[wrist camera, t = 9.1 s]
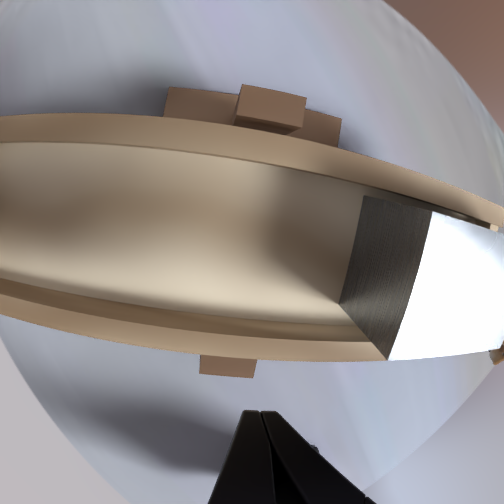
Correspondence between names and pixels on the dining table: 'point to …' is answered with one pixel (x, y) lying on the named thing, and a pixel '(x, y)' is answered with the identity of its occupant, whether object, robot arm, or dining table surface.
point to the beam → (193, 233)
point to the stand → (258, 118)
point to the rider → (424, 282)
